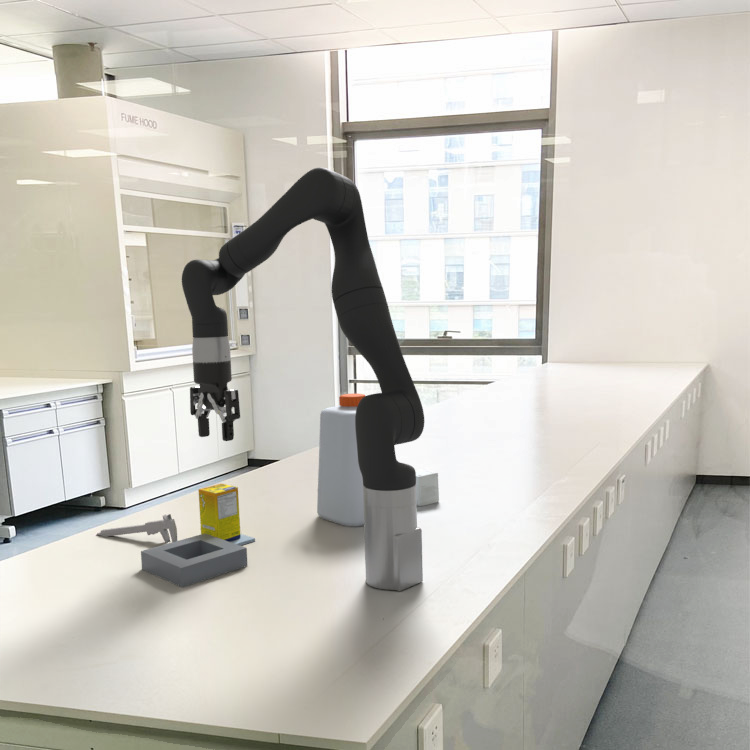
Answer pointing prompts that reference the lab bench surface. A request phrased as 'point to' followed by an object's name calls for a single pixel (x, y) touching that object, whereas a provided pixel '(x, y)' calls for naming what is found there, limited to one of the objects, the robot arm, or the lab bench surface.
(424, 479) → the skincare box
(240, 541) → the pad
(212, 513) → the supplement box
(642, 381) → the lab bench surface
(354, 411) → the plastic bottle
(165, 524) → the caliper
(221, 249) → the robot arm
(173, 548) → the socket block
